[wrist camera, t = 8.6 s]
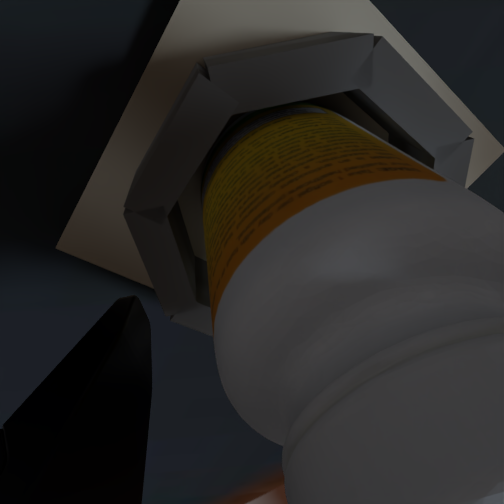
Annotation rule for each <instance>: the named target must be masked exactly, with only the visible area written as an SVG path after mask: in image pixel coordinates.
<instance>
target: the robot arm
mask: <svg viewBox="0 0 504 504" xmlns="http://www.w3.org/2000/svg"><path fill="white" fill-rule="evenodd" d="M151 396H152V359H151V328H150V322H149V319H148V317H147V315H146V313H145V311H144V308H143V306H142V304H141V302H140V300H139V298H138V297H137V296H135V295H132V296H127V297H123V298H119V299H118V300H117V301H116V302H115V303H114V304H113V305H112V306H111V307H110V308H109V309H108V310H107V311H106V313H105V314H104V315H103V316H102V317H101V318H100V319H99V320H98V321H97V322H96V324H95V325H94V326H93V327H92V328H91V329H90V330H89V331H88V332H87V333H86V334H85V336H84V337H83V338H82V339H81V340H80V341H79V342H78V343H77V344H76V345H75V347H74V348H73V349H72V350H71V351H70V352H69V353H68V354H67V355H66V356H65V357H64V359H63V360H62V361H61V362H60V363H59V364H58V365H57V366H56V367H55V368H54V370H53V371H52V372H51V373H50V374H49V375H48V376H47V377H46V378H45V379H44V381H43V382H42V383H41V384H40V385H39V386H38V387H37V388H36V389H35V390H34V391H33V393H32V394H31V395H30V396H29V397H28V398H27V399H26V400H25V401H24V402H23V403H22V405H21V406H20V407H19V408H18V409H17V410H16V411H15V412H14V413H13V414H12V416H11V417H10V418H9V419H8V420H7V421H6V422H5V423H4V424H3V426H2V428H3V429H0V504H142V494H143V483H144V472H145V462H146V451H147V440H148V429H149V418H150V408H151Z"/></svg>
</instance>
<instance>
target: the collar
mask: <svg viewBox="0 0 504 504" xmlns="http://www.w3.org/2000/svg"><path fill="white" fill-rule="evenodd" d="M296 101H306V102H311V103H316V104H319V105H322V106H324V107H326V108H329V109H331V110H333V111H335V112H336V113H338V114H340V115H342V116H344V117H345V118H347V119H349V120H351V121H352V122H354V123H356V124H357V125H359V126H361V127H362V128H364V129H366V130H367V131H369V132H371V133H372V134H374V135H376V136H377V137H379V138H381V139H382V140H384V141H386V142H387V143H389V144H391V145H392V146H394V147H396V148H398V149H399V150H401V151H403V152H404V153H406V154H408V155H409V156H411V157H413V158H414V159H416V160H418V161H419V162H421V163H423V164H425V165H426V166H428V167H430V168H431V169H433V170H435V171H437V172H438V173H440V174H442V175H444V176H445V177H447V178H449V179H451V180H452V181H454V182H456V183H457V184H459V185H461V186H463V187H464V188H466V189H467V188H468V187H469V186H470V185H471V184H472V183H473V182H474V181H475V180H476V179H477V178H478V177H479V176H480V175H481V174H482V173H483V172H484V171H485V170H486V169H487V168H488V167H489V166H490V165H491V164H492V163H493V162H494V161H495V160H496V159H497V158H498V157H499V156H500V155H501V154H502V153H503V152H504V148H503V146H502V145H501V144H500V143H499V142H498V141H497V140H496V139H495V138H494V137H493V136H492V134H491V133H490V132H489V131H488V130H487V129H486V128H485V127H484V126H483V125H482V123H481V122H480V121H479V120H478V119H477V118H476V117H475V116H474V115H473V114H472V113H471V111H470V110H469V109H468V108H467V107H466V106H465V105H464V104H463V103H462V102H461V100H460V99H459V98H458V97H457V96H456V95H455V94H454V93H453V92H452V91H451V89H450V88H449V87H448V86H447V85H446V84H445V83H444V82H443V81H442V80H441V79H440V77H439V76H438V75H437V74H436V73H435V72H434V71H433V70H432V69H431V68H430V66H429V65H428V64H427V63H426V62H425V61H424V60H423V59H422V58H421V57H420V55H419V54H418V53H417V52H416V51H415V50H414V49H413V48H412V47H411V46H410V45H409V43H408V42H407V41H406V40H405V39H404V38H403V37H402V36H401V35H400V34H399V32H398V31H397V30H396V29H395V28H394V27H393V26H392V25H391V24H390V23H389V21H388V20H387V19H386V18H385V17H384V16H383V15H382V14H381V13H380V12H379V11H378V9H377V8H376V7H375V6H374V5H373V4H372V3H371V2H370V1H369V0H180V1H179V3H178V5H177V7H176V9H175V11H174V13H173V15H172V17H171V19H170V21H169V23H168V25H167V27H166V29H165V31H164V33H163V35H162V37H161V39H160V41H159V43H158V45H157V47H156V49H155V51H154V53H153V55H152V57H151V59H150V61H149V63H148V65H147V67H146V69H145V71H144V73H143V75H142V77H141V79H140V81H139V83H138V85H137V87H136V89H135V91H134V93H133V95H132V97H131V99H130V101H129V103H128V105H127V107H126V109H125V111H124V113H123V115H122V117H121V119H120V121H119V123H118V125H117V127H116V129H115V131H114V132H113V134H112V136H111V138H110V140H109V142H108V144H107V146H106V148H105V150H104V152H103V154H102V156H101V158H100V160H99V162H98V164H97V166H96V168H95V170H94V172H93V174H92V176H91V178H90V180H89V182H88V184H87V186H86V188H85V190H84V192H83V194H82V196H81V198H80V200H79V202H78V204H77V206H76V208H75V210H74V212H73V214H72V216H71V218H70V220H69V222H68V224H67V226H66V228H65V230H64V232H63V234H62V236H61V238H60V240H59V242H58V244H57V246H56V249H58V250H61V251H63V252H66V253H68V254H71V255H73V256H75V257H78V258H80V259H83V260H85V261H88V262H90V263H92V264H95V265H97V266H100V267H102V268H105V269H107V270H110V271H112V272H114V273H117V274H119V275H122V276H124V277H127V278H129V279H132V280H134V281H136V282H139V283H141V284H144V285H146V286H149V287H151V288H153V289H154V290H155V292H156V294H157V297H158V299H159V302H160V304H161V306H162V309H163V311H164V314H165V316H171V317H170V321H173V322H175V323H178V324H181V325H183V326H186V327H189V328H191V329H194V330H197V331H199V332H202V333H205V334H207V335H210V336H213V329H212V318H211V307H210V295H209V283H208V271H207V259H206V249H205V238H204V228H203V217H202V207H201V179H202V173H203V169H204V166H205V163H206V160H207V157H208V155H209V153H210V151H211V149H212V147H213V146H214V144H215V143H216V141H217V140H218V138H219V137H220V136H221V135H222V133H223V132H224V131H225V130H226V129H227V128H228V127H229V126H230V125H231V124H232V123H233V122H234V121H236V120H237V119H238V118H239V117H241V116H242V115H244V114H246V113H247V112H249V111H253V110H258V109H263V108H267V107H272V106H277V105H282V104H287V103H291V102H296Z"/></svg>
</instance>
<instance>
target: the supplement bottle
mask: <svg viewBox="0 0 504 504" xmlns="http://www.w3.org/2000/svg"><path fill="white" fill-rule="evenodd" d="M201 207H202V217H203V228H204V238H205V249H206V259H207V271H208V283H209V295H210V307H211V318H212V329H213V340H214V349H215V355H216V361H217V367H218V372H219V376H220V379H221V382H222V386H223V388H224V390H225V393H226V395H227V397H228V398H229V400H230V402H231V404H232V405H233V407H234V408H235V409H236V411H237V412H238V414H239V415H240V417H241V418H242V419H244V420H245V421H246V422H247V423H248V424H249V425H250V426H251V427H252V428H253V429H254V430H255V431H257V432H258V433H260V434H261V435H262V436H264V437H265V438H267V439H269V440H271V441H273V442H275V443H277V444H279V445H282V446H284V447H283V452H282V469H283V472H284V476H285V481H284V482H285V493H286V498H287V502H288V504H504V213H503V212H502V211H500V210H499V209H497V208H496V207H495V206H493V205H492V204H490V203H488V202H487V201H485V200H484V199H482V198H481V197H479V196H478V195H476V194H475V193H473V192H471V191H470V190H468V189H466V188H464V187H463V186H461V185H459V184H457V183H456V182H454V181H452V180H451V179H449V178H447V177H445V176H444V175H442V174H440V173H438V172H437V171H435V170H433V169H431V168H430V167H428V166H426V165H425V164H423V163H421V162H419V161H418V160H416V159H414V158H413V157H411V156H409V155H408V154H406V153H404V152H403V151H401V150H399V149H398V148H396V147H394V146H392V145H391V144H389V143H387V142H386V141H384V140H382V139H381V138H379V137H377V136H376V135H374V134H372V133H371V132H369V131H367V130H366V129H364V128H362V127H361V126H359V125H357V124H356V123H354V122H352V121H351V120H349V119H347V118H345V117H344V116H342V115H340V114H338V113H336V112H335V111H333V110H331V109H329V108H326V107H324V106H322V105H319V104H316V103H311V102H306V101H296V102H291V103H287V104H282V105H277V106H272V107H267V108H263V109H258V110H253V111H249V112H247V113H246V114H244V115H242V116H241V117H239V118H238V119H237V120H236V121H234V122H233V123H232V124H231V125H230V126H229V127H228V128H227V129H226V130H225V131H224V132H223V133H222V135H221V136H220V137H219V138H218V140H217V141H216V143H215V144H214V146H213V147H212V149H211V151H210V153H209V155H208V157H207V160H206V163H205V166H204V169H203V173H202V179H201Z"/></svg>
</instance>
